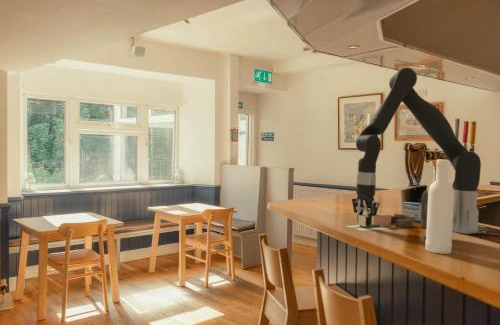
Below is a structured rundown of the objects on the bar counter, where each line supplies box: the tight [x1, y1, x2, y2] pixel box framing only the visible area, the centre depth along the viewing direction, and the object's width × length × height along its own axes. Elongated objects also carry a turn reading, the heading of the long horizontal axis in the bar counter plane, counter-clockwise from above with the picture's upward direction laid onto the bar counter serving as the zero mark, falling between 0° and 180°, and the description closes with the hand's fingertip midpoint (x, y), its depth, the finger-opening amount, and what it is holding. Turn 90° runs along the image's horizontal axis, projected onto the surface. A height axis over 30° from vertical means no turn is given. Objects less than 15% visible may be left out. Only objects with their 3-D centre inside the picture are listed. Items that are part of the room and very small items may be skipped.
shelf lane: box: [345, 213, 417, 232], centre depth 178 cm, size 11×30×4 cm, turn 119°
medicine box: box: [401, 201, 421, 223], centre depth 197 cm, size 8×4×9 cm, turn 62°
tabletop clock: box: [419, 189, 454, 241], centre depth 157 cm, size 14×9×25 cm, turn 147°
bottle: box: [424, 158, 454, 255], centre depth 138 cm, size 8×8×30 cm
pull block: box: [357, 212, 392, 228], centre depth 176 cm, size 5×14×5 cm, turn 118°
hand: (364, 224), depth 174 cm, fingers closed on pull block, 4 cm apart
